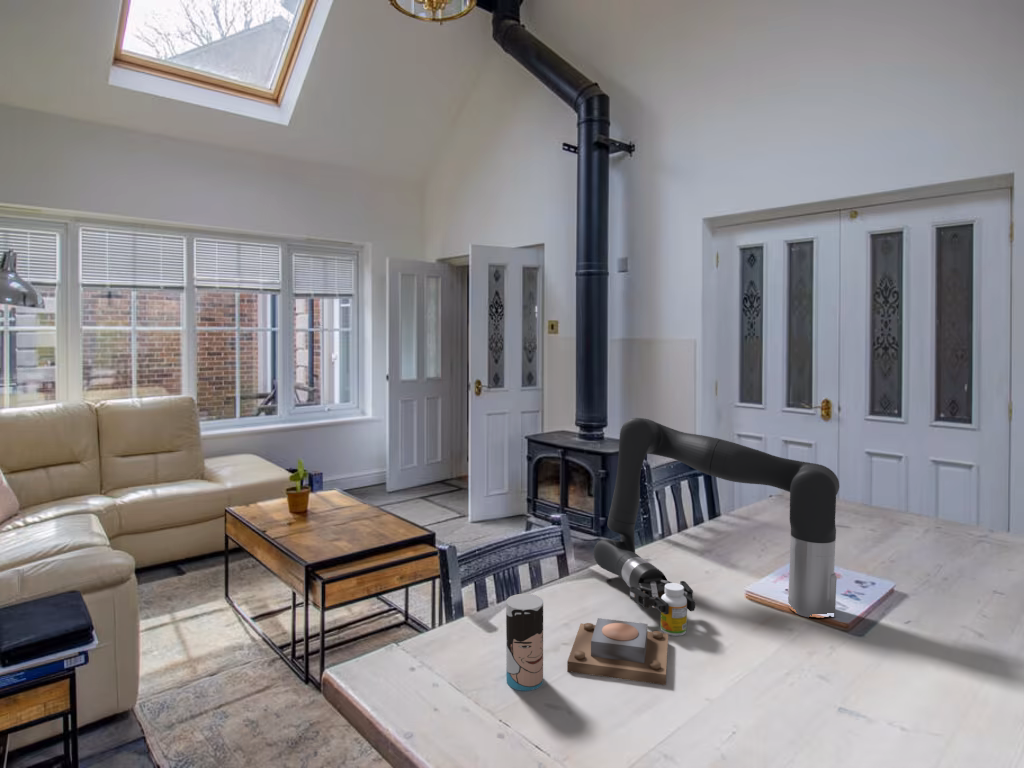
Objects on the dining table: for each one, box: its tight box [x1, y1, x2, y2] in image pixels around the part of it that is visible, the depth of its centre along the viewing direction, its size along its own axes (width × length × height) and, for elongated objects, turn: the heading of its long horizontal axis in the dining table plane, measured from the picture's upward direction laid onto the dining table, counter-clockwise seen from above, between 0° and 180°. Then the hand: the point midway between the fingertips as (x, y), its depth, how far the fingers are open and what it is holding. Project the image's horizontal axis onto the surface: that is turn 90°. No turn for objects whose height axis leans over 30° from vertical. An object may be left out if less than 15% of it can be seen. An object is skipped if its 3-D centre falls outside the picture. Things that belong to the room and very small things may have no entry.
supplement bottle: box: [660, 582, 688, 637], centre depth 135 cm, size 5×5×10 cm
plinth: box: [566, 617, 669, 686], centre depth 125 cm, size 18×16×5 cm
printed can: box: [505, 593, 544, 692], centre depth 116 cm, size 7×7×15 cm
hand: (680, 608), depth 133 cm, fingers closed on supplement bottle, 5 cm apart
